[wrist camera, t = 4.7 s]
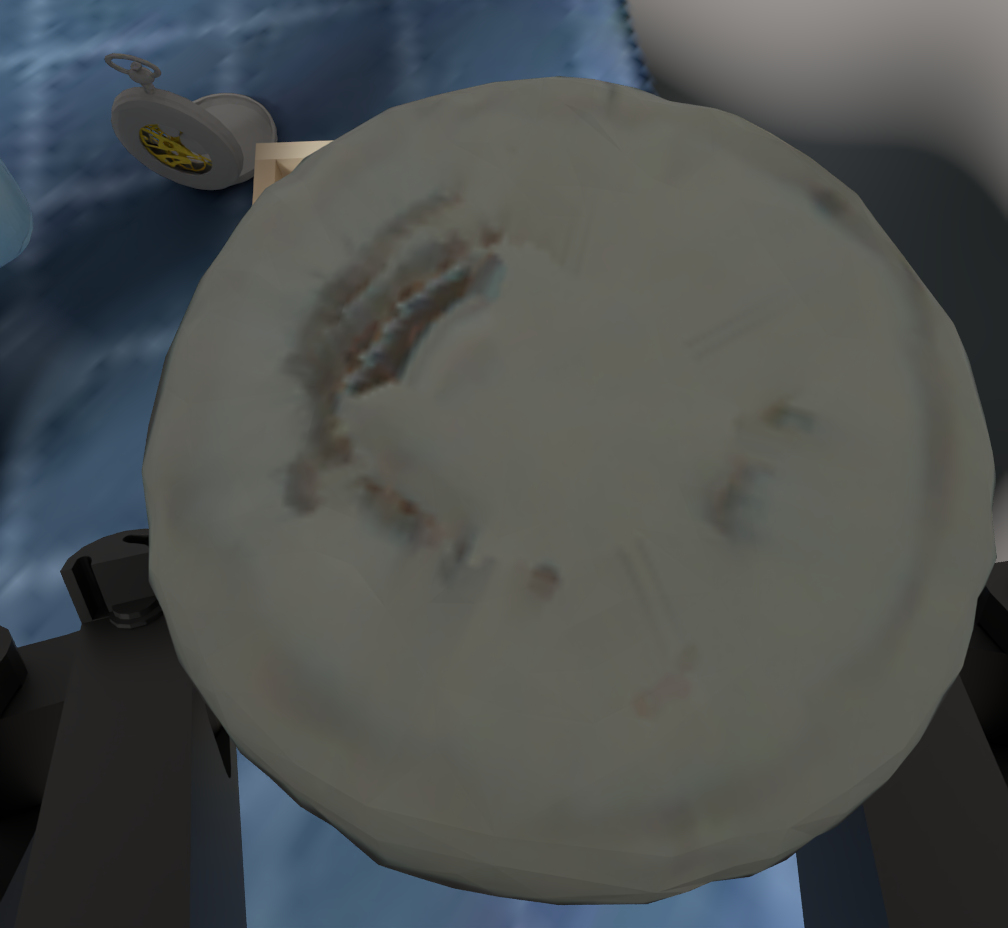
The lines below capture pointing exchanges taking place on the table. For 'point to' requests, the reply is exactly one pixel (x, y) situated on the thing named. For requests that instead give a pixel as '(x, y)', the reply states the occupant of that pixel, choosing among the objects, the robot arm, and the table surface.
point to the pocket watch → (189, 130)
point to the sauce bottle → (568, 493)
